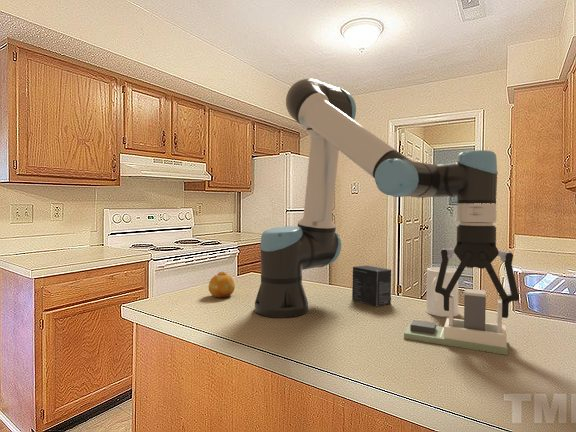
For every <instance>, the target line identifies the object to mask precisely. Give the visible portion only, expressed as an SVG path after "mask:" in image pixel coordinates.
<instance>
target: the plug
mask: <svg viewBox="0 0 576 432" xmlns="http://www.w3.org/2000/svg"><path fill="white" fill-rule="evenodd" d="M463 293H464V294H463V295H464V300H463V302H464V303H463V304H464V305H463V307H464V308H463V320H464V328H466V329H473V330H480V331H485V323H486V308H487V307H486V305H487V302H486V301H487V299H486V298H487V293H486V290H484V289H475V288H473V289H472V288H464V292H463Z"/></svg>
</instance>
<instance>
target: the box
mask: <svg viewBox="0 0 576 432" xmlns="http://www.w3.org/2000/svg"><path fill="white" fill-rule="evenodd" d="M351 293H352V294H351V297H352V300H353V301H357V302H360V303H363V304H367V305H371V306H374V307H380V306H381V307H382V306H384V305H389V304H391V303H392V299H391V297H392V269H390V268H383V267H377V266H371V265H357V266H353V267H352V292H351Z"/></svg>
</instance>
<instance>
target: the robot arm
mask: <svg viewBox="0 0 576 432" xmlns="http://www.w3.org/2000/svg"><path fill="white" fill-rule="evenodd" d="M285 106H286V110H287V112H288V114H289V116H290V117H291V118H292V119H294V121H296V122H297V123H298V124H300V126H302V127H303V128H306V134H308V135H309V137H310V143H309V144H310V145H309V154H308V155H309V157H308V165H307V166H308V167H307V176H306V187H305V196H304V206H303V208H304V209H303V217H302V218H301V219H300V220H299V221H298V222H297V226H296V225H287V226H286V225H285V226H278V227H277V226H276V227H273V228H269V229H266V230H264V231H263V232H262V234H261V236H260V246H259V247H260V248H259V250H260V285H259V289H258V291H257V294H256V297H255V301H254V312H255V313H256V314H258V315H261V316H263V317H269V318H279V319H280V318H292V317H293V318H294V317H300V316H302V315H304V314H307V312H308V311H309V301H308V297H307V294H306V291H305V288H304V285H303V271H305V270H309V269H314V268H323V267H326V266H328V265H331V264H333V263H334V262H335V261H336V260H338V257H339V255H340V254H341V251H342V240H341V238H340V235H339V233H338V232H337V231H336V227H337V226H336V224H335V223H334V222H333V220H332V219H333V208H334V201H335V200H334V198H335V190H336V180H337V170H338V161H339V152H341V153H342V154H343V155H345V157H347V158H348V159H349V160H351V161H352V162H353V163H354V164H356V165H357V166H358V167H359V168H360V169H362V170H363V171H364V172H366V174H368V175H369V176H371V177H372V178H374V182H375V185H376V187H377V189H378V190H379V191H380V192H381V193H382V194H384V195H387V196H391V197H393V198H405V197H410V198H418V199H419V198H422V199H425V198H440V197H441V198H442V197H443V198H444V197H456V222H458V223H459V224H457V226H456V245H455V247H454V248H447V247H445V248H442V249H441V251H440V255H441V263H440V266H439V267H440V271H439V275H438V279H437V283H436V287H435V292H436V293H440V294H442V295H443V297H444V310H445V311H449V317H448V318H449V326H451V327H453V324H454V319H455V318H454V295H450V293H451V292H452V290H453V288H454V286H455V284H456V283H457V281H458V282H459V279H460V278H461V275H462V274H463V273H464V271H465V269H466V267H467V268H469V269H472V268H477V269H482V270H483V269H485V270H486V272H487V274H488V276H489V277H490V279H491V282H492V283H493V285H494V287H495V290H496V292H497V293H498V295H499V297H500V299H497V307H496V309H497V313H496V315H497V317H496V324H497V333H501V334H502V325H503V323H502V322H503V318H504V319H508V317H509V309H510V307H509V304H510V303H511V302H518V301H519V300H520V296H519V290H518V287H517V282H516V278H515V273H514V268H513V258H514V255H513V252H512V251H508V250H507V251H503V250H499V249H498V247H497V227H496V225H494V224H495V223H496V222H497V206H498V204H497V195H498V194H497V189H498V188H497V187H498V174H499V173H498V166H497V165H498V163H497V162H498V161H497V154H496V153H495V152H494V151H491V150H484V149H483V150H479V149H478V150H467V151H462V152H460V153H458V155H457V159H456V161H455V162H451V163H450V162H449V163H436V164H435V163H434V164H430V163H425V162H419V161H414V160H411V159H409V158H408V157H406V156H405V155H403V154H402V153H401V152H399V151H398V150H397V149H395V148H394V147H393V146H391V145H390V144H388V143H386V142H385V140H382V139H381V138H380V137H378V136H377V135H376V134H374V133H372V132H371V131H370V130H369V129H366V127H364V126H363V125H362V124H360V123H358V122H357V121H356V120H355V119H356V115H357V105H356V102H355V98H354V97H353V95H352V94H350V92H348V91H347V90H344V89H343V88H341V87H339V86H334V85H331V84H328V83H326V82H323V81H320V80H318V79H314V78H304V79H300V80H297V81H296V82H294V83H293V84H292V85H291V86H290V88H289V89H288V91H287V94H286V98H285ZM453 254H455V255H456V257H457V258H458V259H459V261H460V263H459V265H458V266H457V268H456V269H457V270H456V272H455V273H454V275H453V277H452V279H451V281H450V282H449V284H448V286H447V288H446V289H445V288H443V287H442V286H443V282H444V278H445V274H446V270H447V268H448V264H449V260H450V259H452V257H453ZM497 257H499V258H500V260H501V262H503V263H504V267H505V272H506V277H507V282H508V286H509V291H510V293H508V294H507V292H506V290H505V288H504V286H503V285H502V283H501V280H500V279H499V276H498V274H497V273H496V271H495V269H494V266H493V265H492V262H493V261H494V260H495V259H496V258H497Z"/></svg>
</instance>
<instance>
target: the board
mask: <svg viewBox="0 0 576 432" xmlns="http://www.w3.org/2000/svg"><path fill="white" fill-rule="evenodd" d="M403 339H407V340H412V341H419V342H425V343H430V344H431V343H432V344H436V345H443V346H450V347H456V348H462V349H467V350H468V349H469V350H473V351H479V350H480V352H485V351H486V352H485V353H491V352H492V354H499V355H506V356H508V355H509V353H508V352H509V350H508V349H509V348H508V345H507V346H506V348H504V347H498V346H492V345H485V344H479V343H472V342H466V341H459V340H453V339H446V338H444V326H439V325H437V323H436V322H433V321H431V322H430V321H427V320H425V321H424V320H419V319H412V321H411V322H410V323H409V324H408V326H407V328H406V329H405V330H404V333H403Z"/></svg>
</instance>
